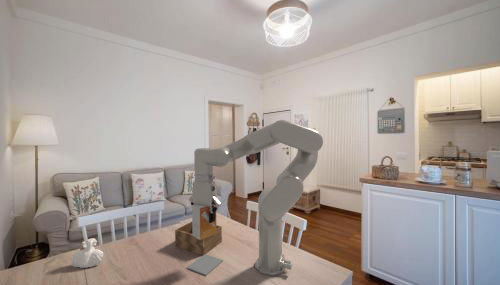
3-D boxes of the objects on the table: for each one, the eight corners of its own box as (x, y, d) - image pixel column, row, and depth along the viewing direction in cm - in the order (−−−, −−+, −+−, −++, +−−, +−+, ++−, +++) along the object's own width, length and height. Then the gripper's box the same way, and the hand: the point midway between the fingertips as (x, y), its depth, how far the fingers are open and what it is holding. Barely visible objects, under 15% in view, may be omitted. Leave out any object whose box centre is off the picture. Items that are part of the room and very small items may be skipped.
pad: (222, 261, 92) (222, 260, 92) (206, 275, 83) (206, 274, 83) (205, 255, 97) (205, 254, 97) (187, 268, 88) (187, 267, 88)
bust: (104, 267, 92) (111, 239, 99) (96, 265, 86) (104, 235, 93) (73, 270, 91) (83, 241, 97) (63, 268, 84) (74, 237, 91)
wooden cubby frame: (221, 241, 109) (221, 226, 109) (203, 255, 97) (203, 238, 97) (195, 234, 118) (195, 220, 118) (175, 245, 106) (175, 229, 105)
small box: (200, 240, 84) (199, 208, 84) (192, 235, 89) (191, 204, 89) (217, 234, 90) (216, 203, 90) (208, 229, 95) (208, 200, 94)
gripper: (226, 178, 88) (226, 220, 88) (194, 174, 96) (195, 213, 97) (215, 181, 81) (215, 227, 82) (182, 177, 90) (182, 219, 90)
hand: (204, 219), depth 89 cm, fingers closed on small box, 7 cm apart
